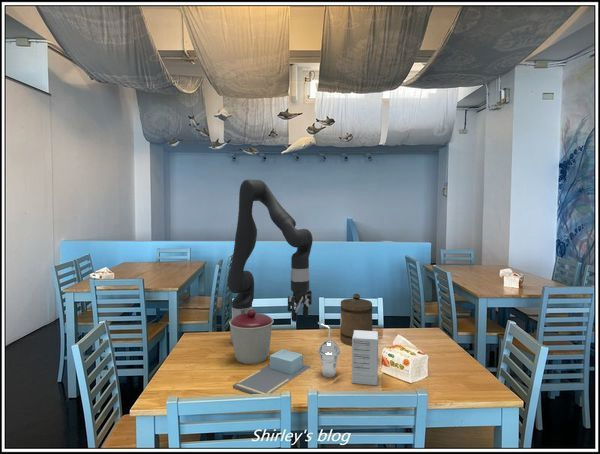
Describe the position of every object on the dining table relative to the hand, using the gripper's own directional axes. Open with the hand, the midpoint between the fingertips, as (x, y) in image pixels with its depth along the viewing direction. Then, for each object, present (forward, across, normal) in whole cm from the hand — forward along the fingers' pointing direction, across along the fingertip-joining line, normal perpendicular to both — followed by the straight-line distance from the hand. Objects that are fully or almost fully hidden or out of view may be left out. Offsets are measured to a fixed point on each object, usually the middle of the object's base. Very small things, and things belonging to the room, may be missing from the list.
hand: (300, 318), depth 161 cm
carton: (+17, +10, 0) cm, 19 cm away
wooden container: (+18, -34, +9) cm, 40 cm away
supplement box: (+18, 0, +29) cm, 34 cm away
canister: (+18, +10, -17) cm, 27 cm away
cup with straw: (+18, +6, +17) cm, 25 cm away
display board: (+18, +18, 0) cm, 25 cm away
